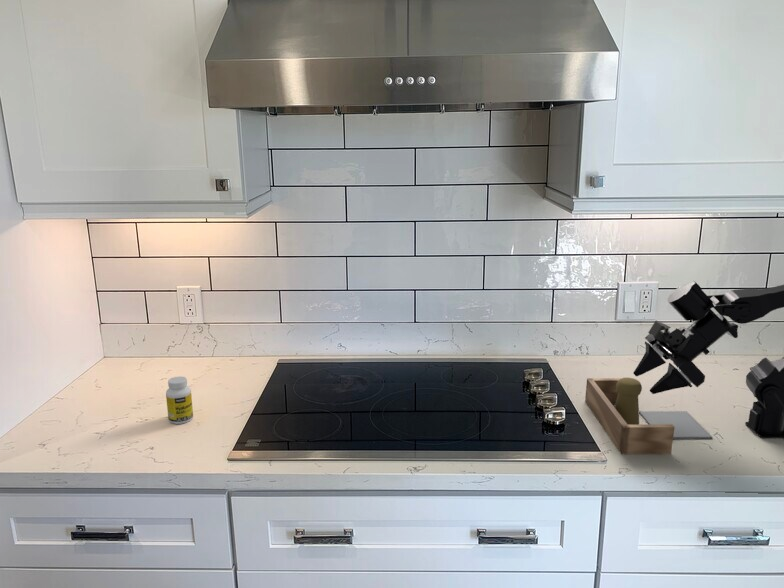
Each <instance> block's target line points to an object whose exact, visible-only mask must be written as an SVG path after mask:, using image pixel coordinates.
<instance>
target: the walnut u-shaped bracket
mask: <svg viewBox="0 0 784 588" xmlns="http://www.w3.org/2000/svg"><path fill="white" fill-rule="evenodd" d="M619 379H621V377H618V378H615V377H612V378H610V377H609V378H607V377H606V378H604V377H603V378H601V377H600V378H599V377H598V378H589V377H588V378H586V386H585V387H586V389H585V397H584V398H585V399H584V402H585V404H586V405H587V407H588V408H589V409H590V411H591V413H592V414H593V416H594V417H595V418H596V420H597V421H598V423H599V424H600V425H601V427H602V428H603V430H604V431H605V433H606V434H607V435H608V437H609V439H610V440H611V442H612V443H613V444H614V446H615V447H616V449H617V450H618V452H619V453H620V454H621V455H663V454H664V455H671V454H672V451H673V450H672V448H673V444H674V443H673V442H674V439H673V435H674V428H675V427H674V426H673V425H672V424H650V425H649V424H639V425H628V424H627V423H626V422H625V420H624V419H623V418H622V417H621V415H620V414H619V413H618V411H617V410H616V409H615V404H616V400H617V396H618V391H617V388H616V385H617V382H618V381H619ZM613 404H614V405H613Z"/></svg>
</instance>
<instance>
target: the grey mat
mask: <svg viewBox="0 0 784 588" xmlns="http://www.w3.org/2000/svg"><path fill="white" fill-rule="evenodd" d="M639 416H641V417H642V419H643V420H644V421H645V422H646V421H647V422H648V423H647V422H646V423H647V425H650V424H672V425H673V426H674V427H675V428H674V435H673V440H676V439H677V440H678V439H687V440H688V439H689V440H690V439H713V436H712V435H711V434H710V432H708V430H706V429H705V428H704V427H703V426H702V425H701V423H699V422H698V421H697V420H696V418H694V417H693V416H692V414H690V412H688V410H684V411H683V410H678V411H677V410H673V411H671V410H669V411H668V410H667V411H666V410H665V411H663V410H658V411H657V410H655V411H654V410H653V411H652V410H651V411H650V410H648V411H647V410H646V411H643V410H642V411H641V410H639Z"/></svg>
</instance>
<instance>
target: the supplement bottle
mask: <svg viewBox="0 0 784 588" xmlns="http://www.w3.org/2000/svg"><path fill="white" fill-rule="evenodd" d="M167 384H168V385H167V386H168V388H167V389H166V392H165V398H166V408H167V417H168V419H167V420H168V421H169V422H170V424H173V425H181V424H182V425H183V424H187V423H188V422H191V421H192V420H193V418H194V410H193V398H192V389H191V387H190V386H189V385H188V379H187V377H186V376H181V375H180V376H174V377H170V378H169V379H168V381H167Z"/></svg>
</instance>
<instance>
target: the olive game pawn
mask: <svg viewBox="0 0 784 588" xmlns="http://www.w3.org/2000/svg"><path fill="white" fill-rule="evenodd" d="M620 378H621V377H620ZM642 386H643V385H642V384H641V382H640V381H639V380H638V379H636V378H632V377H622V378H621V379H619V381H618V382H617V385H616V388H617V391H618V396H617V400H616V403H614V407H615V409H616V410H617V411H618V413H619V414H620V415H621V417H622V418H623V419H624V420H625V422H626V423H627V424H628V425H640V413H639V411H640V410H639V409H640V407H639V396H640V395H641V393H642V389H643V387H642Z"/></svg>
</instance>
